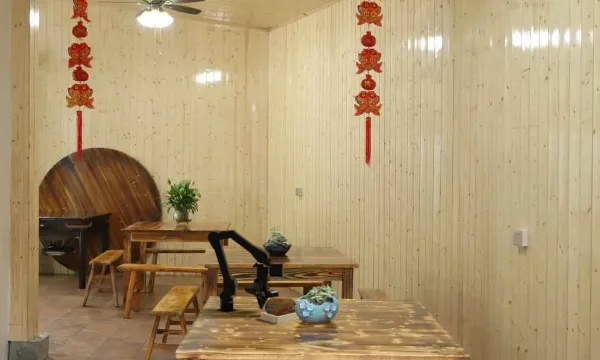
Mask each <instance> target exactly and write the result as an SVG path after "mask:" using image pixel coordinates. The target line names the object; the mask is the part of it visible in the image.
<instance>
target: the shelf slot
mask: <svg viewBox="0 0 600 360" xmlns="http://www.w3.org/2000/svg"><path fill="white" fill-rule="evenodd" d="M259 319H260V320H262V321H266V322H269V323H273V324H276V325H279V324H283V323H287V322H293V321H296V319H297V320H300V319H299V317H298V316H297V314H296V313H291V314H287V315H282V316H274V315H270V314H267V312H262V311H261V312H260V318H259Z"/></svg>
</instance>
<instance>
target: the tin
mask: <svg viewBox="0 0 600 360" xmlns="http://www.w3.org/2000/svg"><path fill="white" fill-rule="evenodd" d="M295 305H297V302H296V301H295V300H294V299H293V298H290V297H289V298H288V297H285V298H283V297H282V298H281V297H273V298H268V299H267V301H266V303H265V305H264V310H265V313H267V314H270V315H274V316H282V315H287V314H291V313H295Z"/></svg>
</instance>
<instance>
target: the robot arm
mask: <svg viewBox="0 0 600 360" xmlns="http://www.w3.org/2000/svg"><path fill="white" fill-rule="evenodd" d="M228 239H231V240H232V241H233V242H235V243H236V244H238V245H239V246H240V247H242V248H243V250H245V251H247V252H249V253H250V255H251V257H253V258H254V259H255V260H256V262H254V264H253V265H252V268H256V270H255V271H256V272H255V273H256V274H255V278H254V279H253V282H251V283H250V284H248V285H246V286H245V287H244V292H245V293H247V294H250V295H252V296H253V297H255V299H256V301H257V303H258V307H259V310H263V309H264V308H265V304H266V302H267V301H268V300H269V299H271V298H280V297H279V296H280V295H279V293H280V292H279V291H278V290H275V289H271V288H270V286H269V285H268V284H269V282H270V281H271V279H270V278H269V276H270V277H271V278H277V279H278V278H279V279H280V278H281V279H283V278H284V276H285V275H284V274H285V270H284V263H281V262H280V263H274V262H273V260H272V259H271V257H270V253H269V252H268V251H267V250H265V249H264V248H261V247H259V246H257V245H255V244H253V243H252V242H251V241H249V240H248V239H246V237H244V236H242V235H241V234H240V233H239V232H237V231H236V230H235V229H229V230H223V231H222V230H221V231H220V230H216V229H215V230H213V231H210V232H209V233H208V234H207V241H208V242H209V244H210V246H211V248H212V249H213V250H214V253H215V256H216V260H217V263H218V266H219V269H220V270H219V271H220V273H221V277H222V287H223V291H221V292H220V293H219V294H218V297H219V308H217V311H219V312H223V313H228V312H234V311H237V310H236V308H234V294H236V292H237V291H239V285H240V284H239V283H238V279H237V276H236V277H233V274H232V273H231V270H230V266H229V263H228V260H227V256H226V252H225V250H224V240H228Z"/></svg>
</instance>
